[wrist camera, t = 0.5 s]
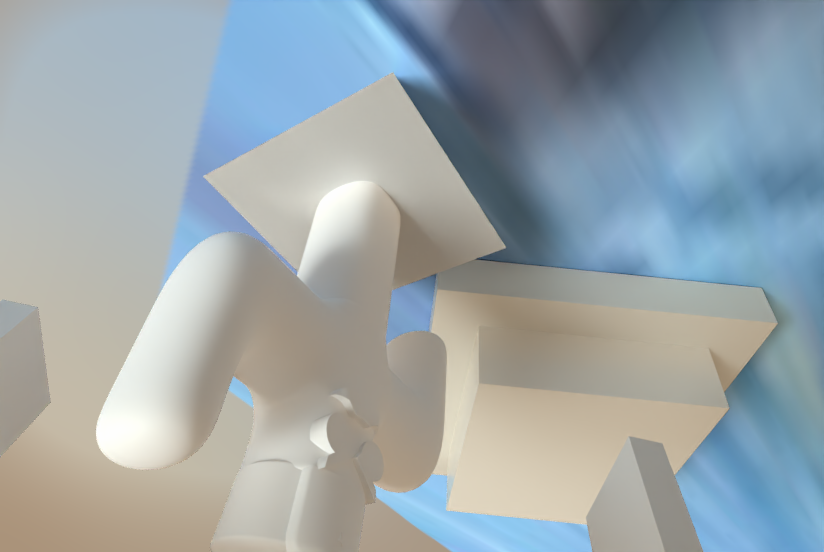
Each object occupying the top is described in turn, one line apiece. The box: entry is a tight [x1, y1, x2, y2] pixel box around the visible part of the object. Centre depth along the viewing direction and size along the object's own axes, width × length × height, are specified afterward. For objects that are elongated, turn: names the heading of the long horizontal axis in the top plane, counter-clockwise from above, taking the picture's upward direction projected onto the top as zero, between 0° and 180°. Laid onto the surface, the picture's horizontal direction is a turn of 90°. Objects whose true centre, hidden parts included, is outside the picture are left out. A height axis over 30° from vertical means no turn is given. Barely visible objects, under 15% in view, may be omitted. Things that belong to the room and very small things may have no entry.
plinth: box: [429, 260, 778, 524], centre depth 30 cm, size 16×14×5 cm
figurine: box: [96, 73, 506, 552], centre depth 17 cm, size 7×9×15 cm
